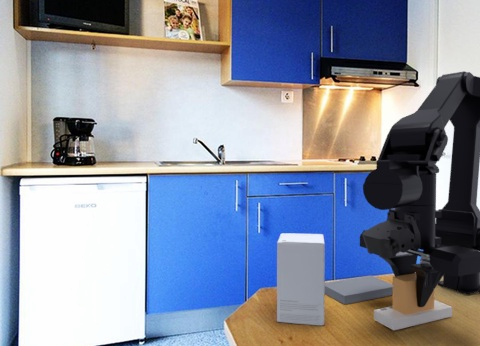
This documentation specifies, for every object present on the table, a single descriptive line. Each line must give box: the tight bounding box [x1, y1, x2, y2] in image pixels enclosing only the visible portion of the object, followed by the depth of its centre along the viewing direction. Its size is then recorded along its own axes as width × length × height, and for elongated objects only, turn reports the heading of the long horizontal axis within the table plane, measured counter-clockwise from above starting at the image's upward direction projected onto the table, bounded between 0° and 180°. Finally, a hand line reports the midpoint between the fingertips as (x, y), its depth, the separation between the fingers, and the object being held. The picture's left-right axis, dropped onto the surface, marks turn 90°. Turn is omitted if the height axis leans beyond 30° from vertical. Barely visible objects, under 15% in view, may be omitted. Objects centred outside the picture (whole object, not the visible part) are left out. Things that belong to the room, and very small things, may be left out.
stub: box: [373, 273, 453, 331], centre depth 58 cm, size 12×4×6 cm, turn 113°
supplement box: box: [276, 232, 326, 326], centre depth 60 cm, size 7×7×13 cm
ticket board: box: [325, 275, 393, 305], centre depth 70 cm, size 12×7×2 cm, turn 113°
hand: (413, 303), depth 58 cm, fingers closed on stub, 2 cm apart
